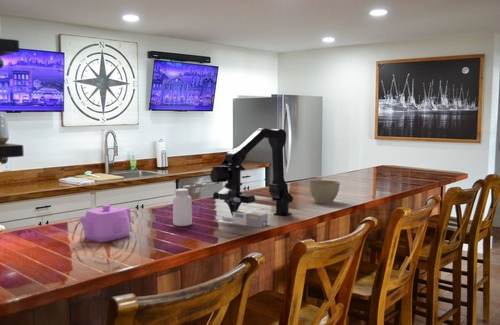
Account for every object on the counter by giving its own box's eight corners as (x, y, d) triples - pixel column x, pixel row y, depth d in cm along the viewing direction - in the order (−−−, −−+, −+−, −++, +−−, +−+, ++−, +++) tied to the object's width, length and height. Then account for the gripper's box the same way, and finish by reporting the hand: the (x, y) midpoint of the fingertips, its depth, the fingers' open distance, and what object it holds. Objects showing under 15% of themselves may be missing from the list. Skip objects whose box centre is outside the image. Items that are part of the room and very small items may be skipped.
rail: (227, 218, 217) (227, 214, 217) (270, 224, 205) (270, 220, 205) (217, 222, 211) (217, 218, 211) (260, 228, 199) (260, 224, 198)
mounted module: (253, 222, 208) (253, 211, 208) (267, 224, 204) (267, 213, 204) (246, 224, 204) (246, 213, 203) (260, 226, 200) (260, 215, 199)
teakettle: (132, 231, 196) (131, 200, 195) (126, 241, 179) (125, 208, 178) (88, 232, 194) (87, 201, 193) (79, 243, 177) (77, 210, 176)
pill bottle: (174, 227, 202) (173, 191, 201) (172, 222, 210) (171, 188, 208) (193, 225, 204) (192, 190, 203) (190, 221, 212) (189, 187, 210)
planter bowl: (345, 203, 252) (345, 183, 251) (318, 206, 246) (318, 184, 245) (329, 198, 267) (329, 179, 266) (303, 200, 261) (303, 180, 260)
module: (239, 220, 212) (239, 210, 212) (253, 222, 208) (253, 211, 208) (232, 222, 207) (232, 212, 207) (246, 224, 204) (246, 213, 203)
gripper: (205, 181, 207) (204, 217, 209) (241, 185, 197) (240, 223, 199) (220, 178, 216) (220, 212, 218) (256, 182, 206) (255, 218, 208)
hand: (233, 216), depth 210 cm, fingers closed
